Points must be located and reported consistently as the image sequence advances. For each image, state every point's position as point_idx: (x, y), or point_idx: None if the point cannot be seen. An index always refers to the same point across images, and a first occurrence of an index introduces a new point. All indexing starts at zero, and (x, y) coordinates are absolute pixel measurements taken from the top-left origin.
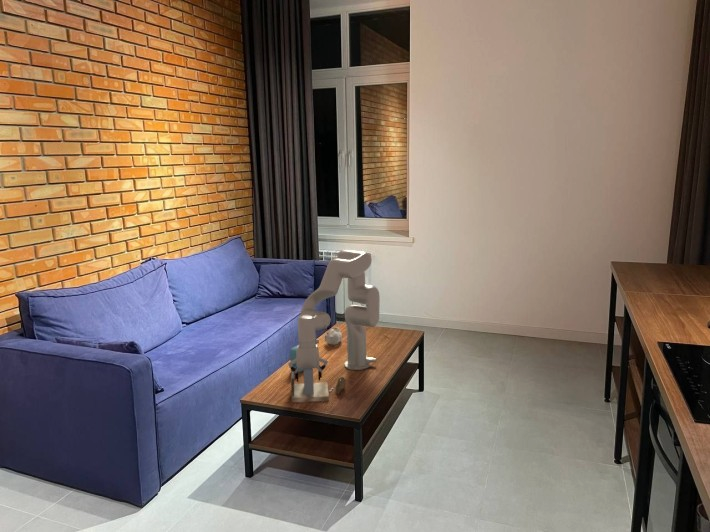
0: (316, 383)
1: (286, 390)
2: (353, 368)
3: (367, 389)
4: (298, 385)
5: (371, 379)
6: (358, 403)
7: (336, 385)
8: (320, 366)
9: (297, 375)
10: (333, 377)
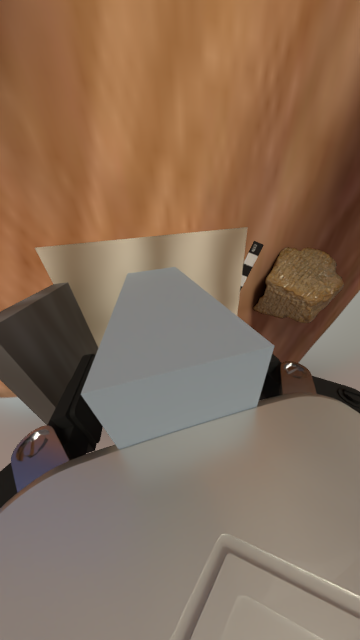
0: (191, 246)
1: (29, 279)
2: None
3: (351, 267)
4: (91, 273)
5: None
6: (289, 352)
7: (278, 296)
8: (313, 391)
9: (97, 430)
10: (293, 59)
